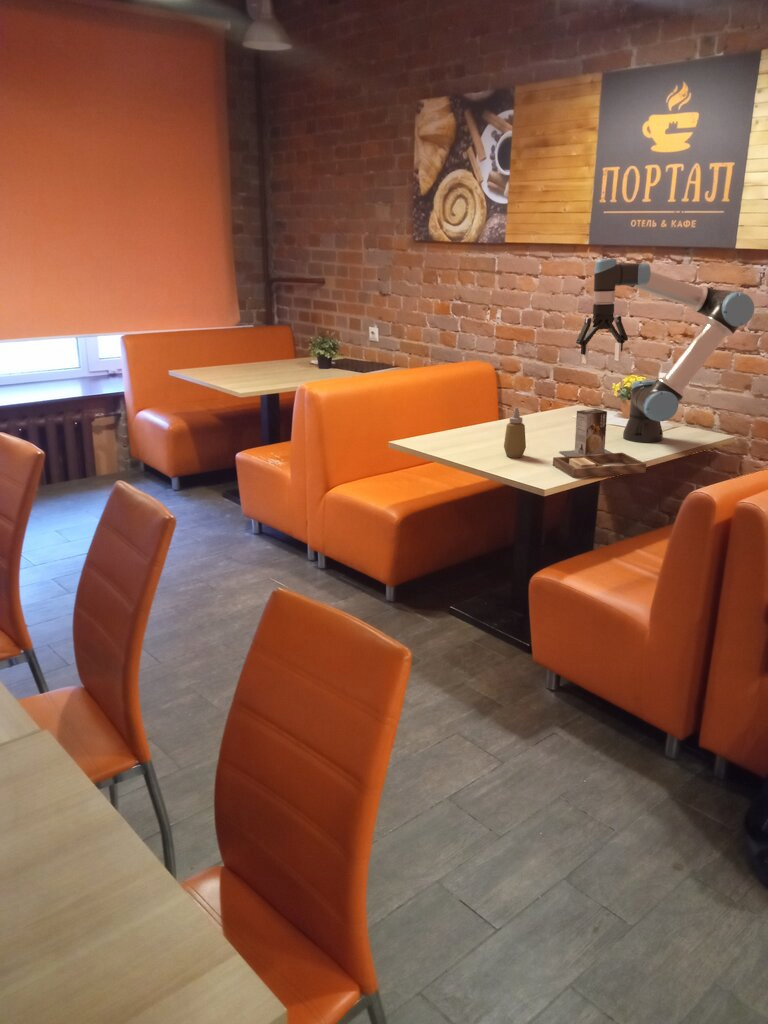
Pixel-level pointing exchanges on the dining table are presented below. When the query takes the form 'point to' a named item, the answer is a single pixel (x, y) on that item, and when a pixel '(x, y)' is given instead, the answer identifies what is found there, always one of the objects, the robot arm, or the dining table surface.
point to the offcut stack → (581, 463)
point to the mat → (571, 453)
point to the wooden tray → (600, 470)
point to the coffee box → (590, 432)
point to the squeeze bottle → (515, 436)
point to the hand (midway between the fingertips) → (601, 362)
